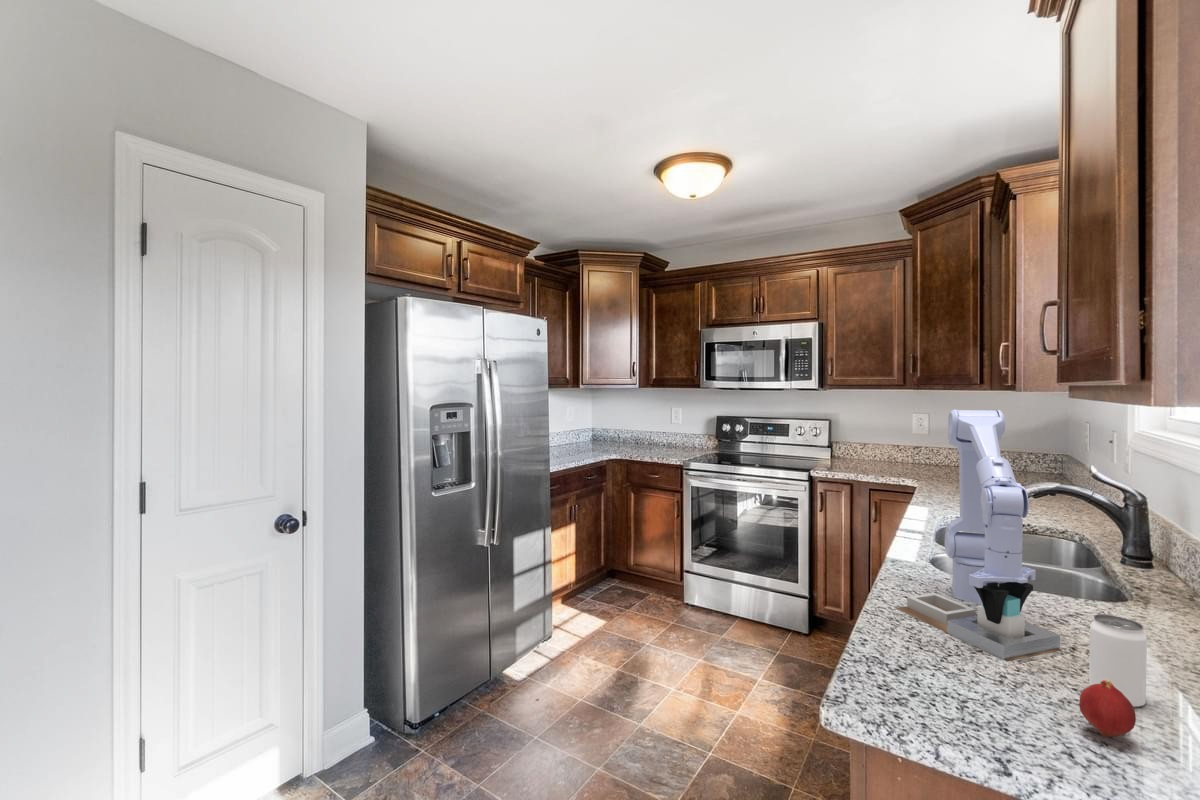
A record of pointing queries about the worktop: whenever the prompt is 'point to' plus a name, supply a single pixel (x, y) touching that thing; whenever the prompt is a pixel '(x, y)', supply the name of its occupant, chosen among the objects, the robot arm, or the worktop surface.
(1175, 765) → the worktop surface
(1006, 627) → the plug
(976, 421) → the robot arm
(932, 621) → the panel board
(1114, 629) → the can
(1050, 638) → the port
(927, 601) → the grey rectangular frame
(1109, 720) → the onion
